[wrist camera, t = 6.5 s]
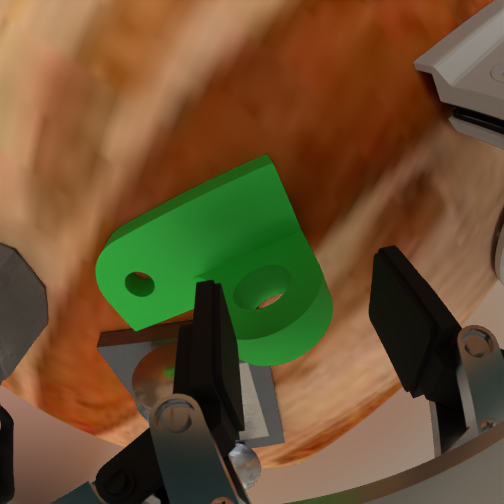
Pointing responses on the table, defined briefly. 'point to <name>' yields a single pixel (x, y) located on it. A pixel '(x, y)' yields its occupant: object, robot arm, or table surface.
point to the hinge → (472, 74)
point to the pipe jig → (162, 378)
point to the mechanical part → (223, 263)
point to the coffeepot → (16, 341)
